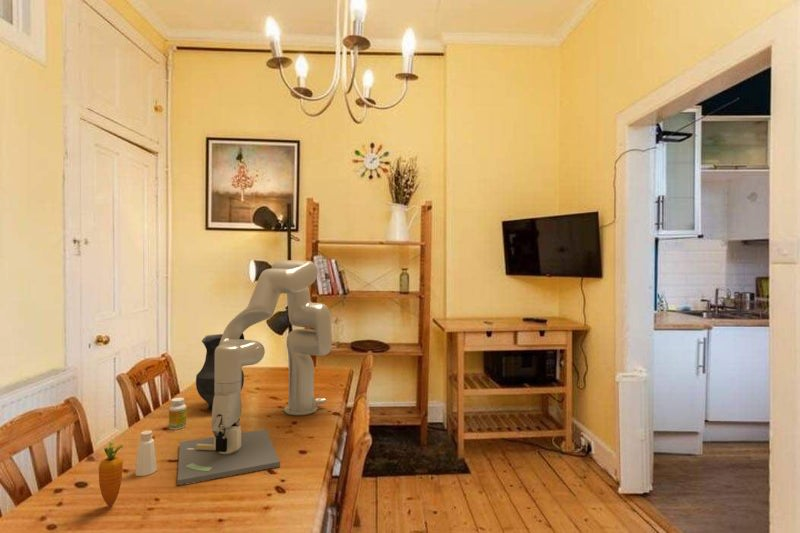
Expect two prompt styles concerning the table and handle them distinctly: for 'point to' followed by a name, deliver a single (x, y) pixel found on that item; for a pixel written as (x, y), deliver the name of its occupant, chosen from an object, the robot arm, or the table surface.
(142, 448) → the pepper shaker
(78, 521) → the table surface
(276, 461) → the dial board
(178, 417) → the supplement bottle
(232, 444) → the cream handled block
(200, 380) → the pitcher
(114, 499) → the carrot
